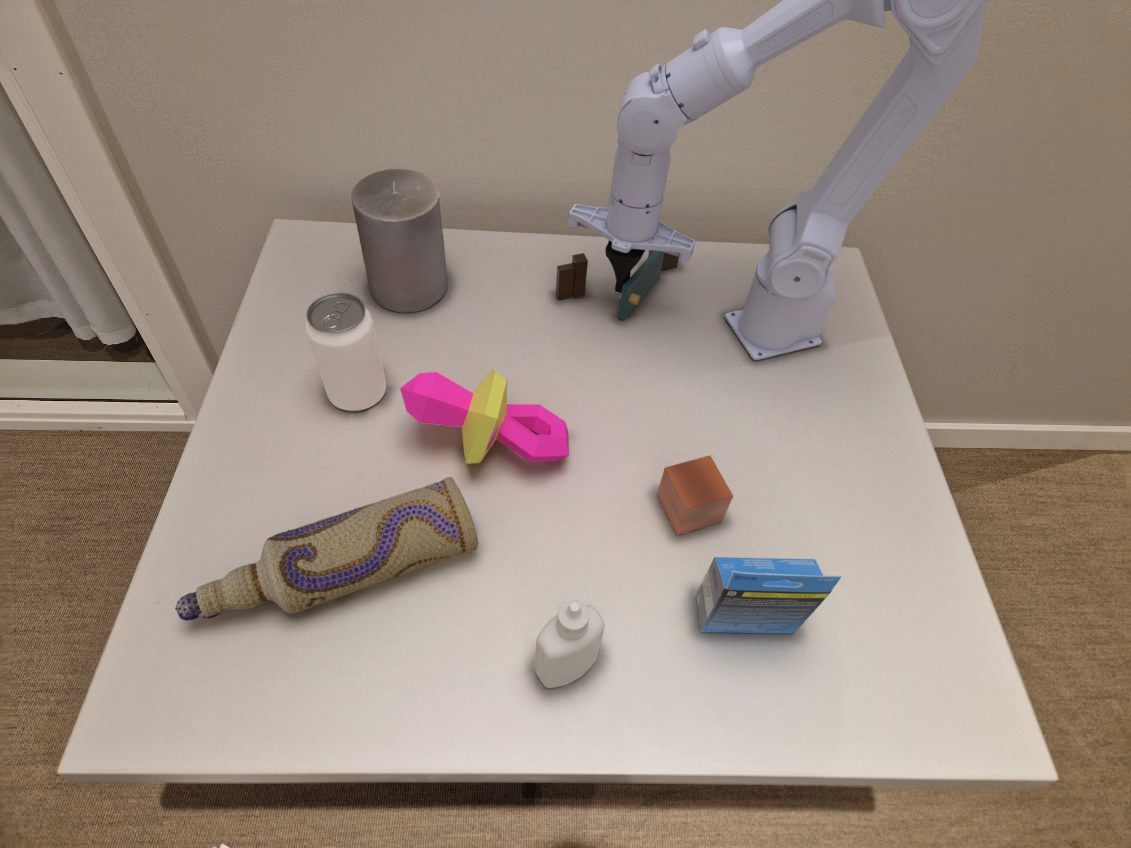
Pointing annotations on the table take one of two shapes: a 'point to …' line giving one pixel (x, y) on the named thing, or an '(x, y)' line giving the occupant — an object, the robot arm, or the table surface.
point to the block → (694, 495)
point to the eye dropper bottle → (568, 644)
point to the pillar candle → (401, 238)
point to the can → (346, 351)
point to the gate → (575, 274)
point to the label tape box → (760, 594)
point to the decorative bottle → (344, 553)
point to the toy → (487, 417)
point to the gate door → (640, 283)
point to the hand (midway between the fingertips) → (621, 288)
